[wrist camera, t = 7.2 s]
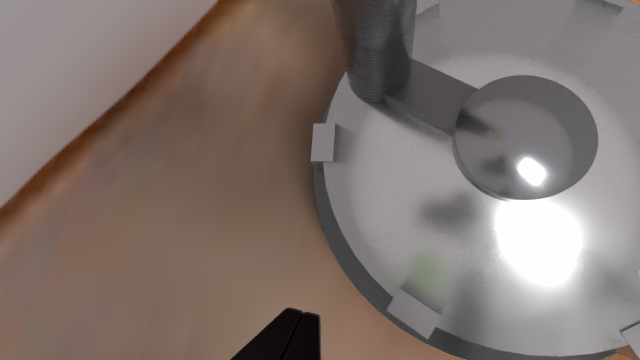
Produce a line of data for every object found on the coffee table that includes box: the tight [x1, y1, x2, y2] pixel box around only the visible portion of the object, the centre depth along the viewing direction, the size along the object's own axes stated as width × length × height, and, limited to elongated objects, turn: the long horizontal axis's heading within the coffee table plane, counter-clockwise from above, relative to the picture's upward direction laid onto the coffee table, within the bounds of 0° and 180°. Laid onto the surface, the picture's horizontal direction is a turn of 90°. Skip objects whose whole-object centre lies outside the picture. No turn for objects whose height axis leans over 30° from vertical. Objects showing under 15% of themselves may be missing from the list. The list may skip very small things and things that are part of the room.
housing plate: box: [313, 91, 615, 360], centre depth 18 cm, size 18×18×2 cm
